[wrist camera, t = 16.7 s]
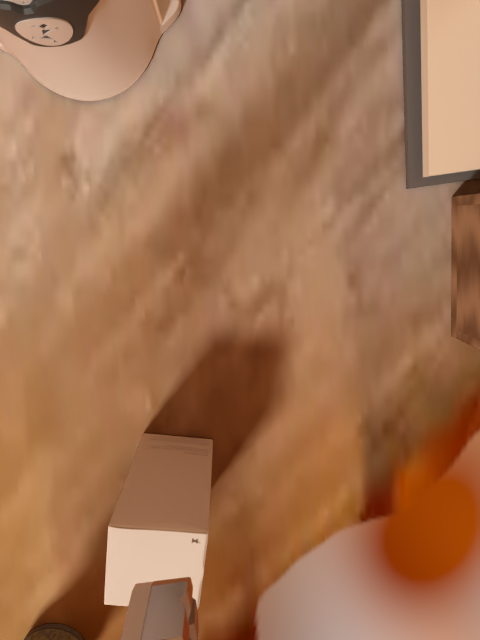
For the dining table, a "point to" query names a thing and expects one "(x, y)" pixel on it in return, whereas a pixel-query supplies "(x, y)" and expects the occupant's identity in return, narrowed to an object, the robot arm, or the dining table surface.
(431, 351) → the dining table surface
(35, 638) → the thermos
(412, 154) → the mat
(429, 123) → the lid panel
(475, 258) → the crate
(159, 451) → the supplement box
